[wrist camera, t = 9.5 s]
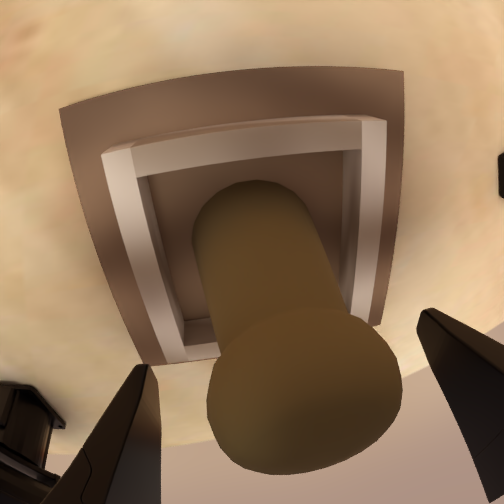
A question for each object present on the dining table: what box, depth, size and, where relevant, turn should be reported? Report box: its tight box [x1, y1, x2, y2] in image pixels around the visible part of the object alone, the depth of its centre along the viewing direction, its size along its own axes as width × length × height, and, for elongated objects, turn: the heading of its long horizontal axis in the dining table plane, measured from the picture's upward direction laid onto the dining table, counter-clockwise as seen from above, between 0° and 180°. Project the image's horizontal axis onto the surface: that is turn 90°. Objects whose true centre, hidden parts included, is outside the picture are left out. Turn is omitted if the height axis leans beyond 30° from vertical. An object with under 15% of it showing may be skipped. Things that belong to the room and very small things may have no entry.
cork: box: [191, 180, 403, 475], centre depth 11 cm, size 6×6×11 cm
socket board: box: [59, 66, 404, 366], centre depth 15 cm, size 16×16×3 cm
